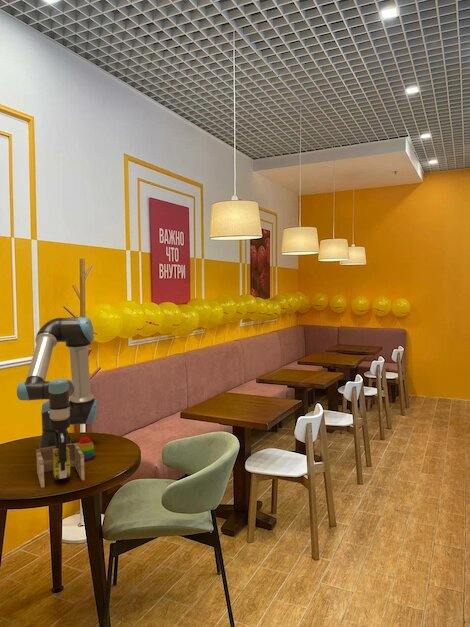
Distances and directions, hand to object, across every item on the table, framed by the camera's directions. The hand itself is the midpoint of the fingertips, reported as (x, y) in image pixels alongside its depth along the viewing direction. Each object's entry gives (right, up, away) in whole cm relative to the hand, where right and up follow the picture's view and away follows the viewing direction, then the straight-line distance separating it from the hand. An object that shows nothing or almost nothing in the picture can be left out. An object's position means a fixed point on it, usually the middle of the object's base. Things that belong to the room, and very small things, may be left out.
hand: (61, 475), depth 194 cm
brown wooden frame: (-3, -2, +6) cm, 7 cm away
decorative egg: (+1, -2, +27) cm, 27 cm away
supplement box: (0, -1, 0) cm, 1 cm away
